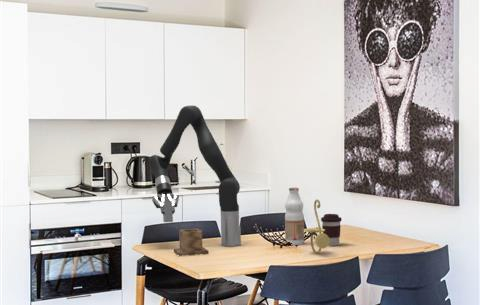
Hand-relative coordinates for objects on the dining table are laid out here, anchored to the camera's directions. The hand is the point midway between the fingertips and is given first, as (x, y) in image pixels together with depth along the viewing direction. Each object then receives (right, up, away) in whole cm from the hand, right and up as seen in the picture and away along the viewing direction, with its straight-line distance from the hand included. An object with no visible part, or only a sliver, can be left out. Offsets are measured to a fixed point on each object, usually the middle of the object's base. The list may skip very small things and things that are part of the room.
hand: (168, 213), depth 294 cm
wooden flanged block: (+12, -18, -10) cm, 23 cm away
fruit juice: (+62, -16, +10) cm, 65 cm away
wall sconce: (+70, -17, -18) cm, 74 cm away
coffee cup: (+80, -16, +3) cm, 81 cm away
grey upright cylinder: (0, -4, +2) cm, 5 cm away
